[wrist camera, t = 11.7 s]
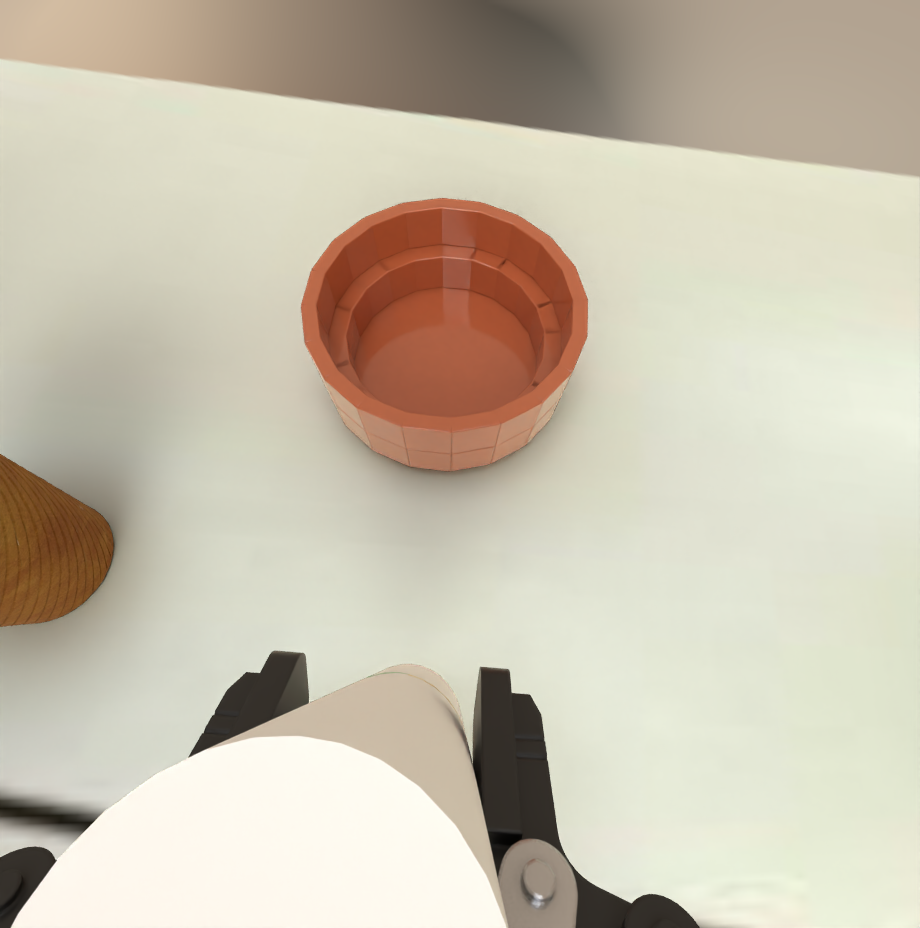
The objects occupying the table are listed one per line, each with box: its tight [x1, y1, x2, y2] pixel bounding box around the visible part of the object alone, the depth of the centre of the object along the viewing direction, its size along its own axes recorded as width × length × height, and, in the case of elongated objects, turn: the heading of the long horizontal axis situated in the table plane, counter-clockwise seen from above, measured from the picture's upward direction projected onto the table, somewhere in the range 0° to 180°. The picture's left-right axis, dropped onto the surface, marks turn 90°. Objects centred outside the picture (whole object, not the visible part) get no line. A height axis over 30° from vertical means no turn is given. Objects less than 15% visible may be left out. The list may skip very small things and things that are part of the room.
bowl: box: [301, 198, 588, 471], centre depth 27 cm, size 15×15×6 cm
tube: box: [11, 664, 508, 928], centre depth 10 cm, size 4×4×15 cm
